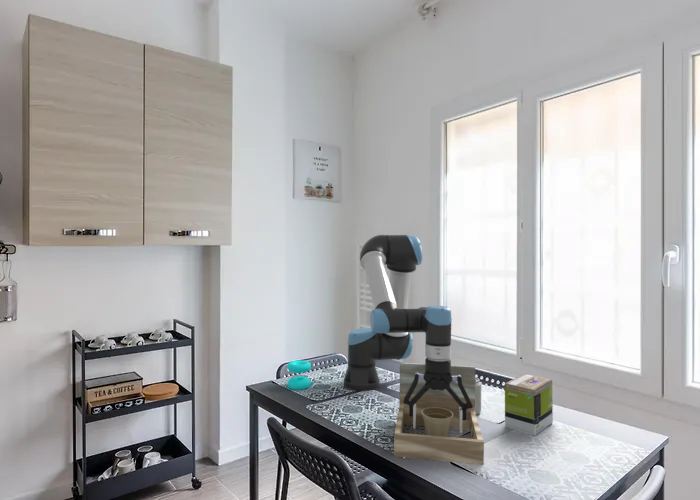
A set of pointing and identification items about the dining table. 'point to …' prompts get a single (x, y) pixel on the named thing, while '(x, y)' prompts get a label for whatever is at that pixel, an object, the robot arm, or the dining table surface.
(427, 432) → the flower pot
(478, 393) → the can
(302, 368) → the donuts
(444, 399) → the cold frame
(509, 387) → the tea box
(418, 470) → the dining table surface
